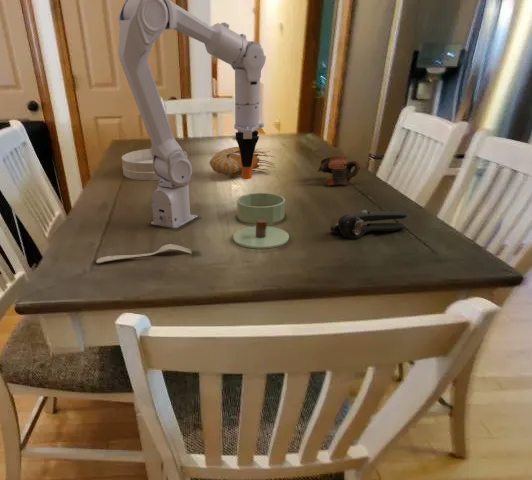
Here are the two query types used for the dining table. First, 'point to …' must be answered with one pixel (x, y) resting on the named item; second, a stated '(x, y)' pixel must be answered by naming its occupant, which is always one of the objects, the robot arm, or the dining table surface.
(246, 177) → the carrot
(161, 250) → the fork
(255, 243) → the lid
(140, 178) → the dish
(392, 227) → the can opener
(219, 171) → the nautilus
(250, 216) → the pot
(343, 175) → the pottery mug
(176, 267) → the dining table surface
